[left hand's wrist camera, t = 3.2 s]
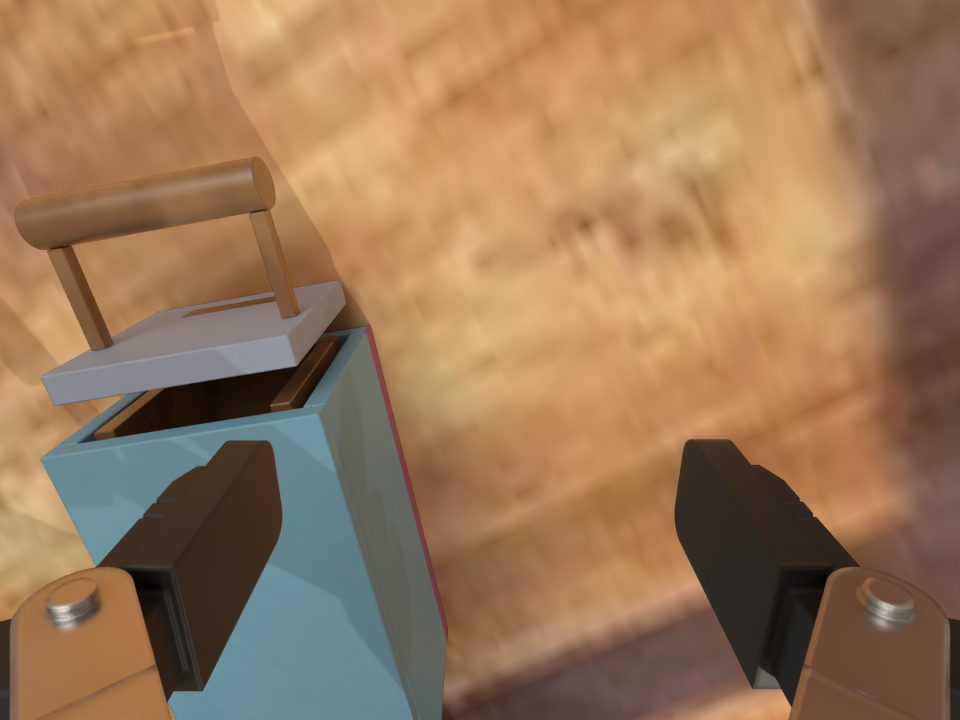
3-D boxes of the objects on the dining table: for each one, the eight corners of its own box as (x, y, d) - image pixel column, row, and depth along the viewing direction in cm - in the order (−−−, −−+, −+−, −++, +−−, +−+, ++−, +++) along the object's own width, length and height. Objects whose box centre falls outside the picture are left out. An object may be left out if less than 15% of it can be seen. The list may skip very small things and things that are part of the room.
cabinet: (175, 357, 30) (37, 458, 20) (370, 324, 29) (318, 413, 20) (290, 649, 37) (227, 820, 28) (448, 628, 36) (437, 796, 27)
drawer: (109, 188, 26) (-44, 210, 18) (306, 151, 25) (231, 158, 18) (277, 613, 35) (220, 745, 27) (424, 593, 34) (408, 722, 27)
